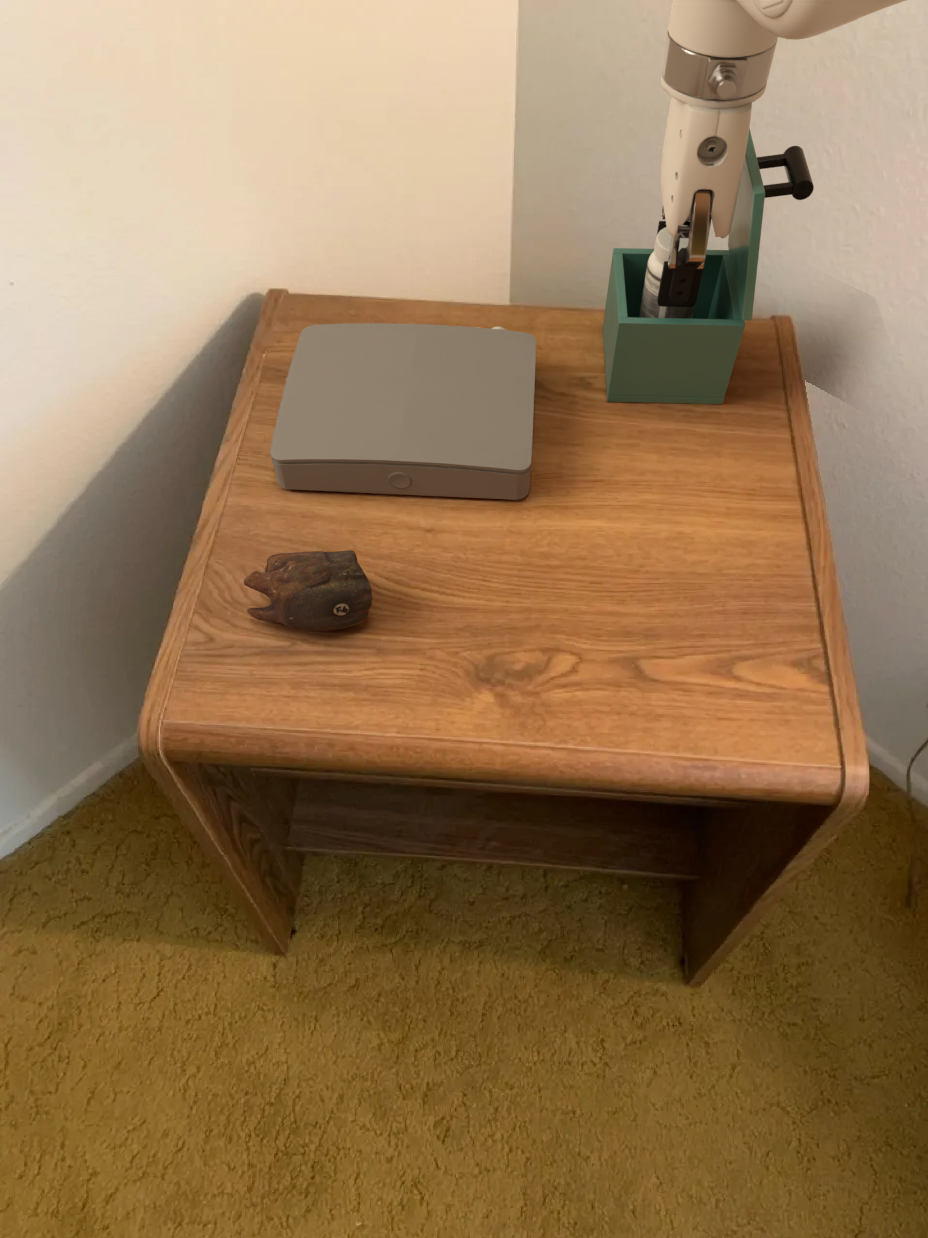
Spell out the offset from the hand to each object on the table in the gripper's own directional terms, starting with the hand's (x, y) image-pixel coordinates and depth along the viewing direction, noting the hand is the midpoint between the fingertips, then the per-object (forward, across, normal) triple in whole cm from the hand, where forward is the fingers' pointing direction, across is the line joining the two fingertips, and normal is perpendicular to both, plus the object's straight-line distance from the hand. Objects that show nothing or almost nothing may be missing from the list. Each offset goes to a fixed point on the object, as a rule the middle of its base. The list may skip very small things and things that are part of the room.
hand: (673, 282), depth 80 cm
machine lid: (-6, 0, -4) cm, 7 cm away
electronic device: (+9, -8, +23) cm, 26 cm away
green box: (+9, 0, 0) cm, 9 cm away
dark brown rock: (+9, -29, +29) cm, 42 cm away
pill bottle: (+4, 0, 0) cm, 4 cm away
